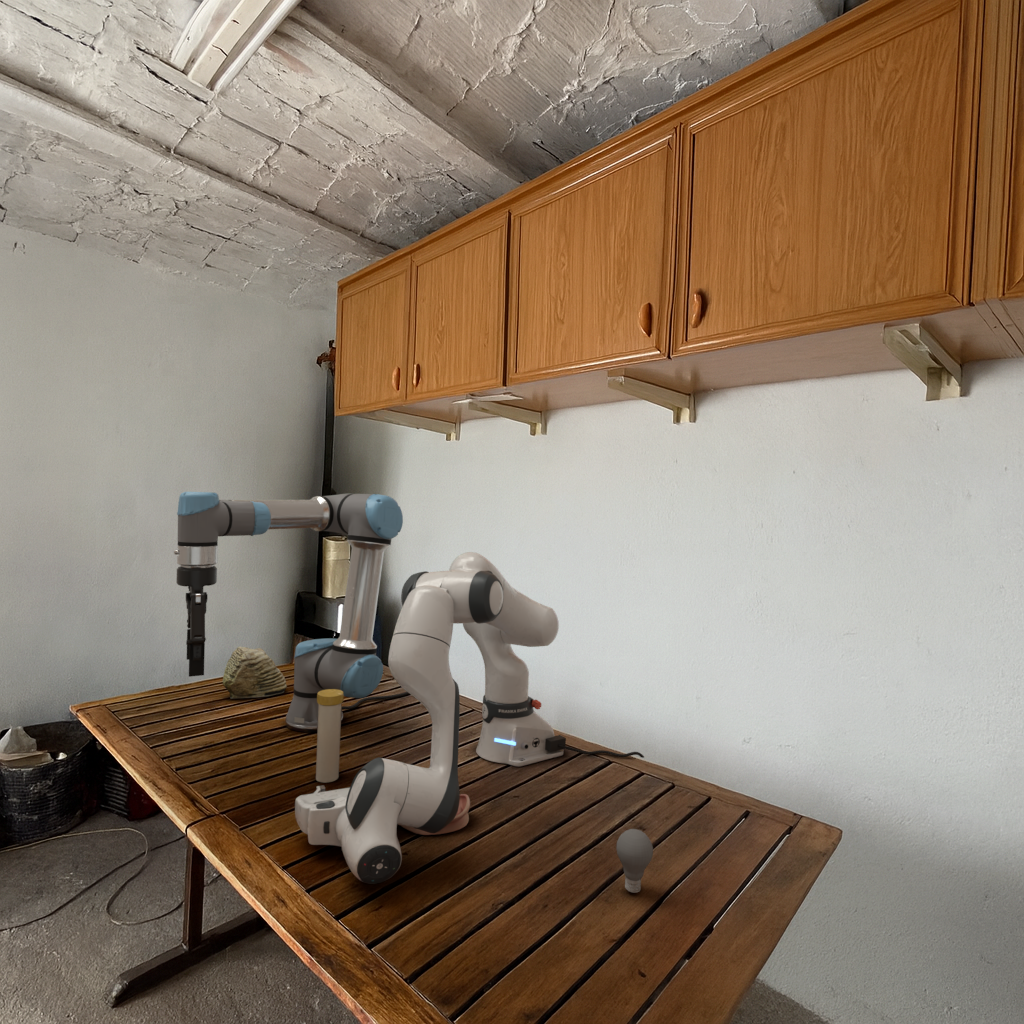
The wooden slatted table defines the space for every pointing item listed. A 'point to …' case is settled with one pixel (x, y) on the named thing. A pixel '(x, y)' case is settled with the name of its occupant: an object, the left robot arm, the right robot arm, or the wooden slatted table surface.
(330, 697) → the lid
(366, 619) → the left robot arm
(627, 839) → the light bulb
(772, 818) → the wooden slatted table surface
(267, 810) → the wooden slatted table surface
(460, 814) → the anatomical model
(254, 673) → the fossil
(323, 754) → the beige cylinder
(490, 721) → the right robot arm
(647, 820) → the wooden slatted table surface
